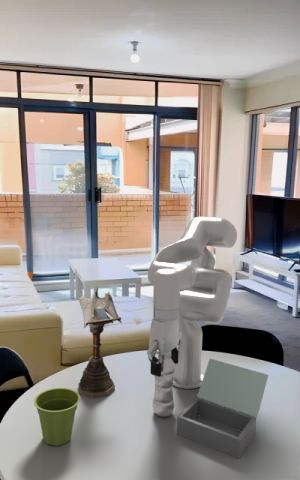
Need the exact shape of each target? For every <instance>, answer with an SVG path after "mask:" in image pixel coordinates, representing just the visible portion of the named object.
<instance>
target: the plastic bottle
mask: <svg viewBox="0 0 300 480" xmlns="http://www.w3.org/2000/svg"><path fill="white" fill-rule="evenodd" d="M158 352H160V351H159V350H158ZM158 356H159V355H158V354H157V357H158ZM160 363H161V376H160V377H158V376H155V375H153V377H154V393H153V395H154V396H153V398H152V399H153V400H152V410H153V412H154V413H155V415H156V416H159V417H161V418H162V417H163V418H167V417H170V416H171V415H172V414H173V413H174V412H175V400H174V385H173V379H174V374H175V364H174V362H173V360H172V359H171V351H169V352H168V353H166V354H165V355H162V358H161V361H160Z"/></svg>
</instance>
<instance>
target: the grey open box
mask: <svg viewBox="0 0 300 480" xmlns="http://www.w3.org/2000/svg"><path fill="white" fill-rule="evenodd" d="M198 417H200V418H203V419H206V420H208V421H212V422H214V423H217V424H219V425H222V426H224V427H228V428H230V429H233V430H235V431H238V432H240V433H239V434H238V436H236V435H233V434H231V433H228V432H225V431H223V430H220V429H217V428H215V427H212V426H209V425H207V424H204V423H201V422H198V421H196V419H197V418H198ZM256 425H257V418H256V417H253V416H250V415H247V414H244V413H241V412H238V411H235V410H232V409H230V408H227V407H224V406H221V405H218V404H215V403H212V402H209V401H206V400H203V399H200V398H198V397H196V398H195V399H194V400H193V401H191V403H190V404H189V405H188V406H186V408H184V410H182V411H181V412H180V413H179V414H178V415H177V417H176V434H177V435H180V436H182V437H185V438H188V439H190V440H192V441H194V442H197V443H200V444H201V445H205V446H207V447H209V448H212V449H215V450H216V451H219V452H222V453H224V454H226V455H229V456H231V457H234V458H236V459H240V458H241V457H242V455H243V454H244V452H245V451H246V449H247V448H248V446H249V445H250V443H251V442H252V440H253V439H254V437H255V436H256V429H257V426H256Z"/></svg>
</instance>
